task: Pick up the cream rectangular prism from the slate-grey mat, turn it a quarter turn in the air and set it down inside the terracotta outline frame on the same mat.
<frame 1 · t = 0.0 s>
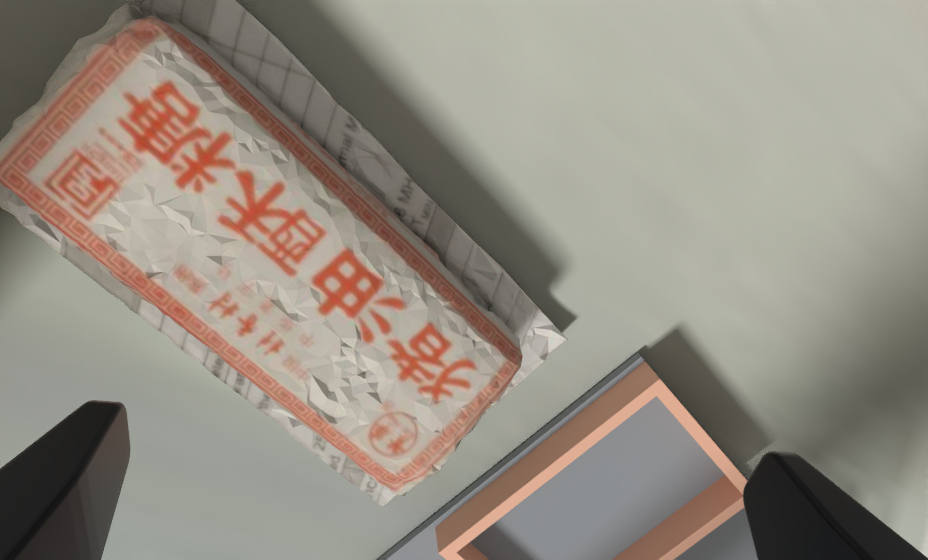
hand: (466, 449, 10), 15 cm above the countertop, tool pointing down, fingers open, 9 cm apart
frame: (588, 494, 29), resting on mat
packaged product: (304, 257, 25), on the countertop
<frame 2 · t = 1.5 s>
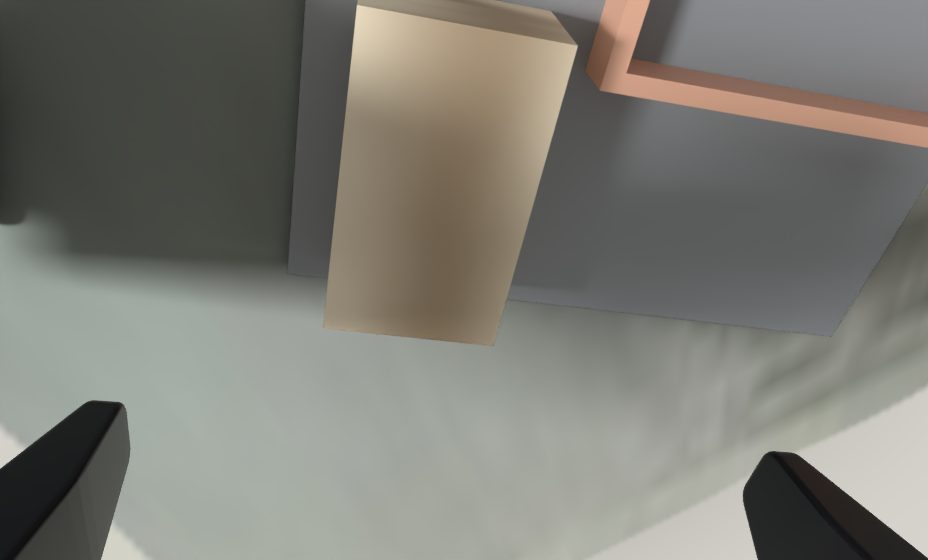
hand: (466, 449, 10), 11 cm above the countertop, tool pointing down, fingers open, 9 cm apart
mat: (656, 69, 18), on the countertop
cream rectangular prism: (430, 150, 18), resting on mat
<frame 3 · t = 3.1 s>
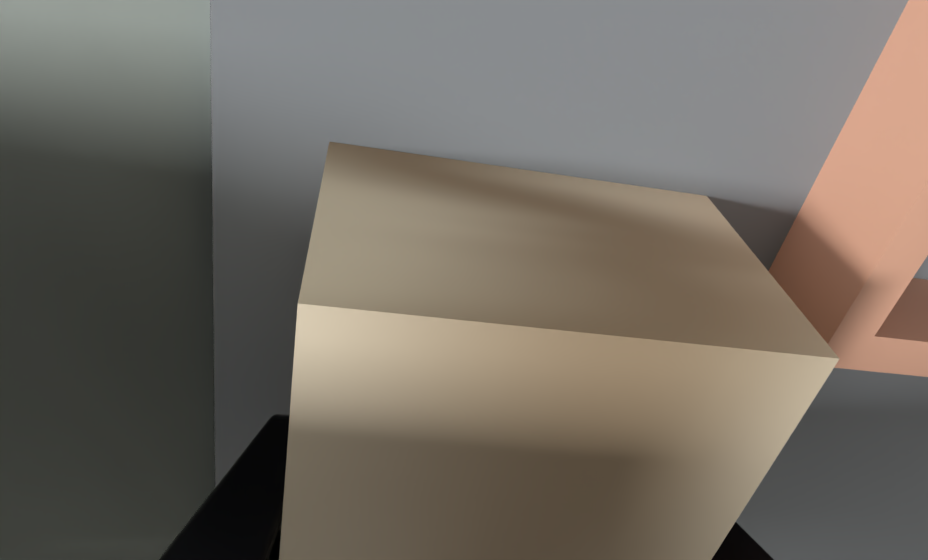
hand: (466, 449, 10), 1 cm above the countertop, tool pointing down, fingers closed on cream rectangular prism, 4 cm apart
mat: (880, 275, 10), on the countertop
cream rectangular prism: (462, 417, 10), resting on mat, touching gripper
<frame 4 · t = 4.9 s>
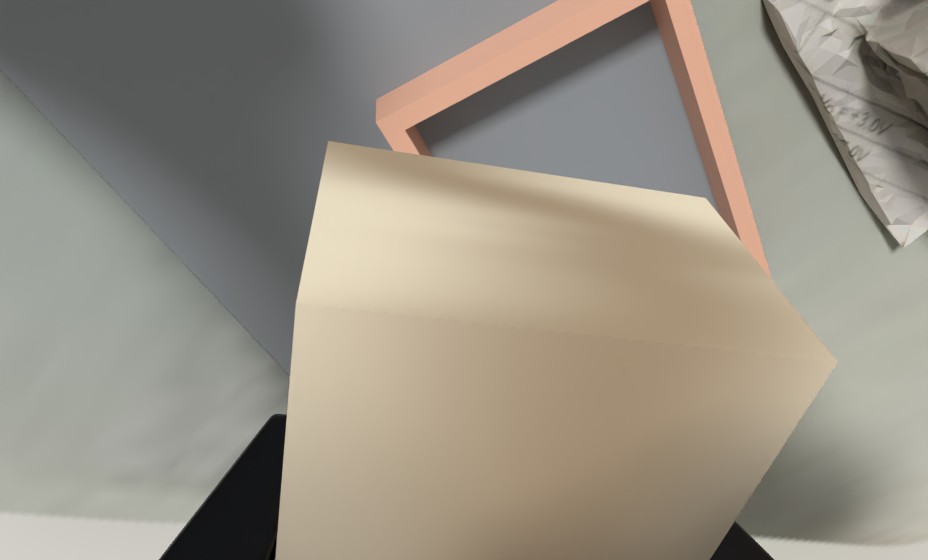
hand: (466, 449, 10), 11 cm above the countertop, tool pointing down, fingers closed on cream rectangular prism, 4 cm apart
frame: (586, 194, 20), resting on mat
mat: (422, 152, 19), on the countertop
cream rectangular prism: (459, 418, 10), point 10 cm above the countertop, touching gripper
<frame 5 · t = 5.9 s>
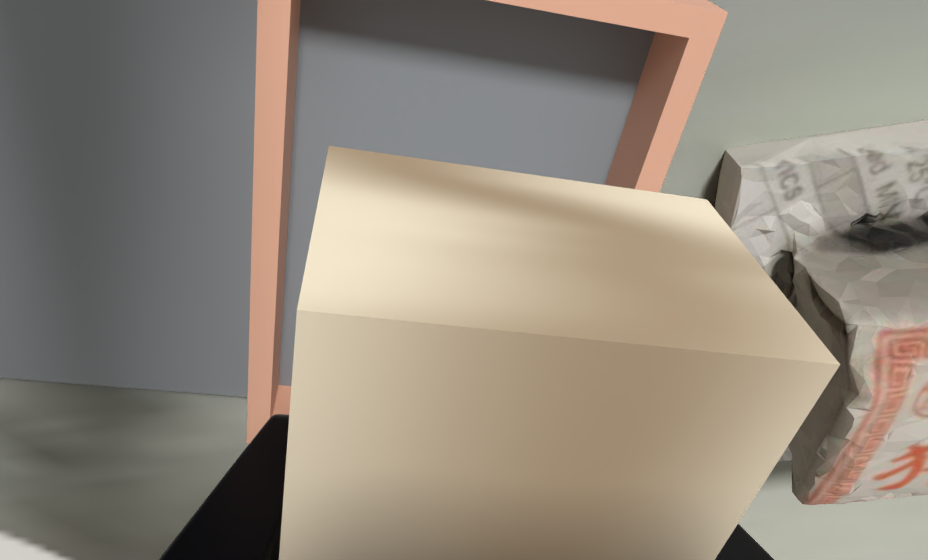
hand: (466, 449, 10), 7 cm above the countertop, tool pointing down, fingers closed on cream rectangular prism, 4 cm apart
frame: (441, 218, 15), resting on mat
mat: (287, 29, 13), on the countertop
cream rectangular prism: (462, 421, 10), point 6 cm above the countertop, touching gripper
when the fingers open (3 cm above the countertop, at t = 6.9 s): cream rectangular prism drops 2 cm, resting on mat.
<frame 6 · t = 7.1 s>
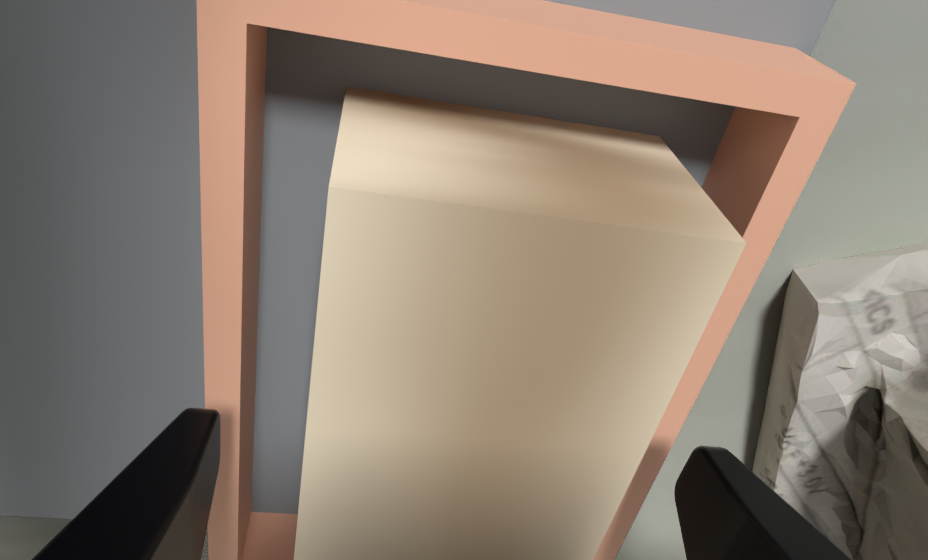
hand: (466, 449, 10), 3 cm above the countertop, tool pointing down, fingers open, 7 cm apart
frame: (452, 320, 12), resting on mat
mat: (250, 96, 10), on the countertop
cream rectangular prism: (456, 335, 12), resting on mat
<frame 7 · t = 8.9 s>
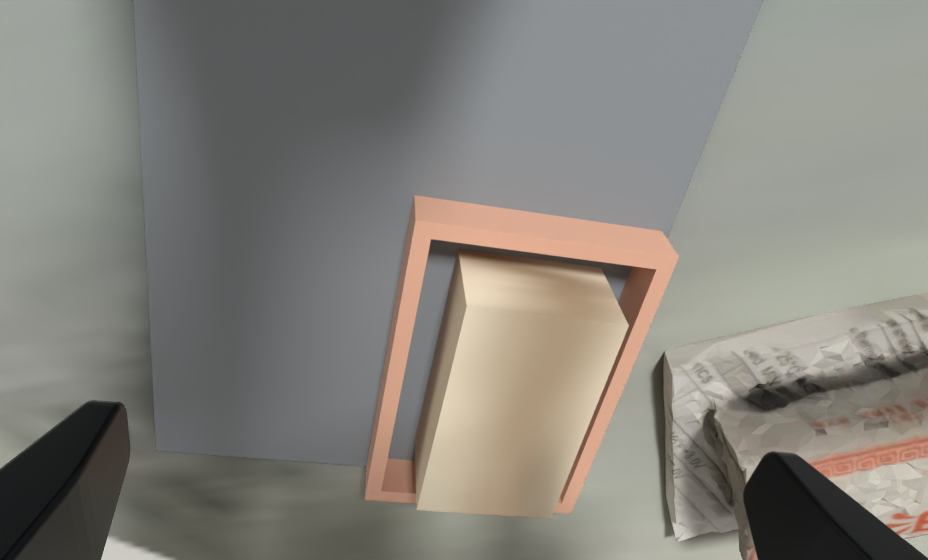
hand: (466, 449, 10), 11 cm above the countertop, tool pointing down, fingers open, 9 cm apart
frame: (498, 352, 23), resting on mat
mat: (411, 250, 21), on the countertop
packaged product: (887, 387, 27), on the countertop
cream rectangular prism: (501, 360, 23), resting on mat
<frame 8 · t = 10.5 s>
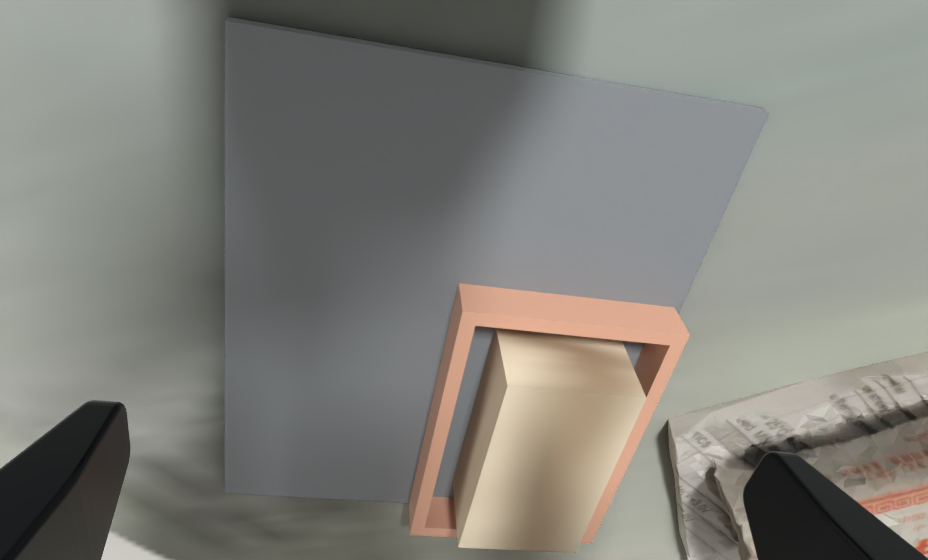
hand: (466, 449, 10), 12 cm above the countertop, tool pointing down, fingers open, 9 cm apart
frame: (528, 406, 26), resting on mat
mat: (454, 325, 24), on the countertop
packaged product: (873, 431, 30), on the countertop
cream rectangular prism: (530, 414, 26), resting on mat
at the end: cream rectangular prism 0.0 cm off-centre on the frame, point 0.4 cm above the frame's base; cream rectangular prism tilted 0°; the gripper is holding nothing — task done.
